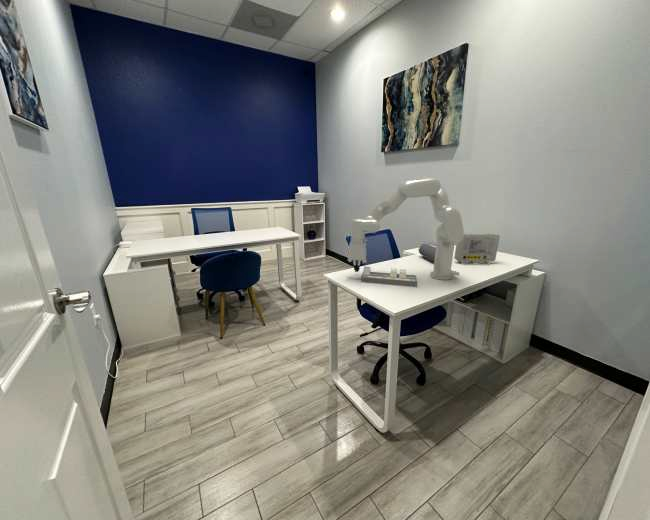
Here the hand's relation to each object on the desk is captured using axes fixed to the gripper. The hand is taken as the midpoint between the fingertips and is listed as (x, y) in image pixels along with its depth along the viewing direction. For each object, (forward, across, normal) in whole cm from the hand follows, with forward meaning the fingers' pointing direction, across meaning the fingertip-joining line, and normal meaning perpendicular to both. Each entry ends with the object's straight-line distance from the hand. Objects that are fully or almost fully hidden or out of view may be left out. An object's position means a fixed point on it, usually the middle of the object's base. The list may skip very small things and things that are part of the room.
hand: (356, 271), depth 162 cm
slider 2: (+1, -26, 0) cm, 26 cm away
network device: (+4, -73, -46) cm, 87 cm away
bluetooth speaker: (+4, -46, -46) cm, 65 cm away
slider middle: (+1, -21, 0) cm, 21 cm away
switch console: (+4, -18, 0) cm, 19 cm away
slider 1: (+1, -6, 0) cm, 6 cm away
